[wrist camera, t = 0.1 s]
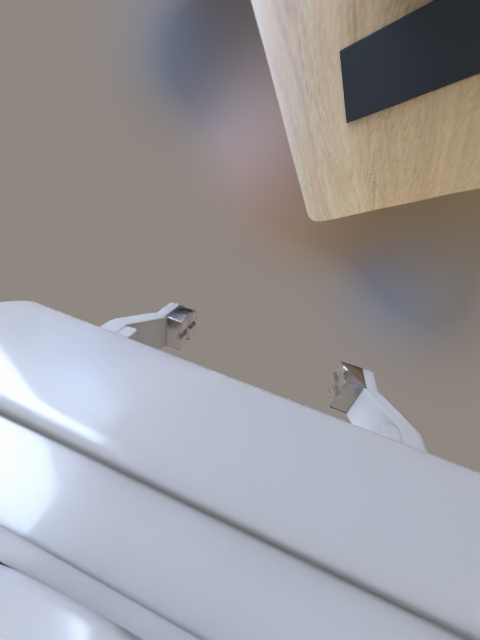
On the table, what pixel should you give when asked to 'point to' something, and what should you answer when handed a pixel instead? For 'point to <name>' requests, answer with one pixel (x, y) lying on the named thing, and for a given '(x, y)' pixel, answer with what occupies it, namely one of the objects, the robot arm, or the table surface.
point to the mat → (412, 56)
